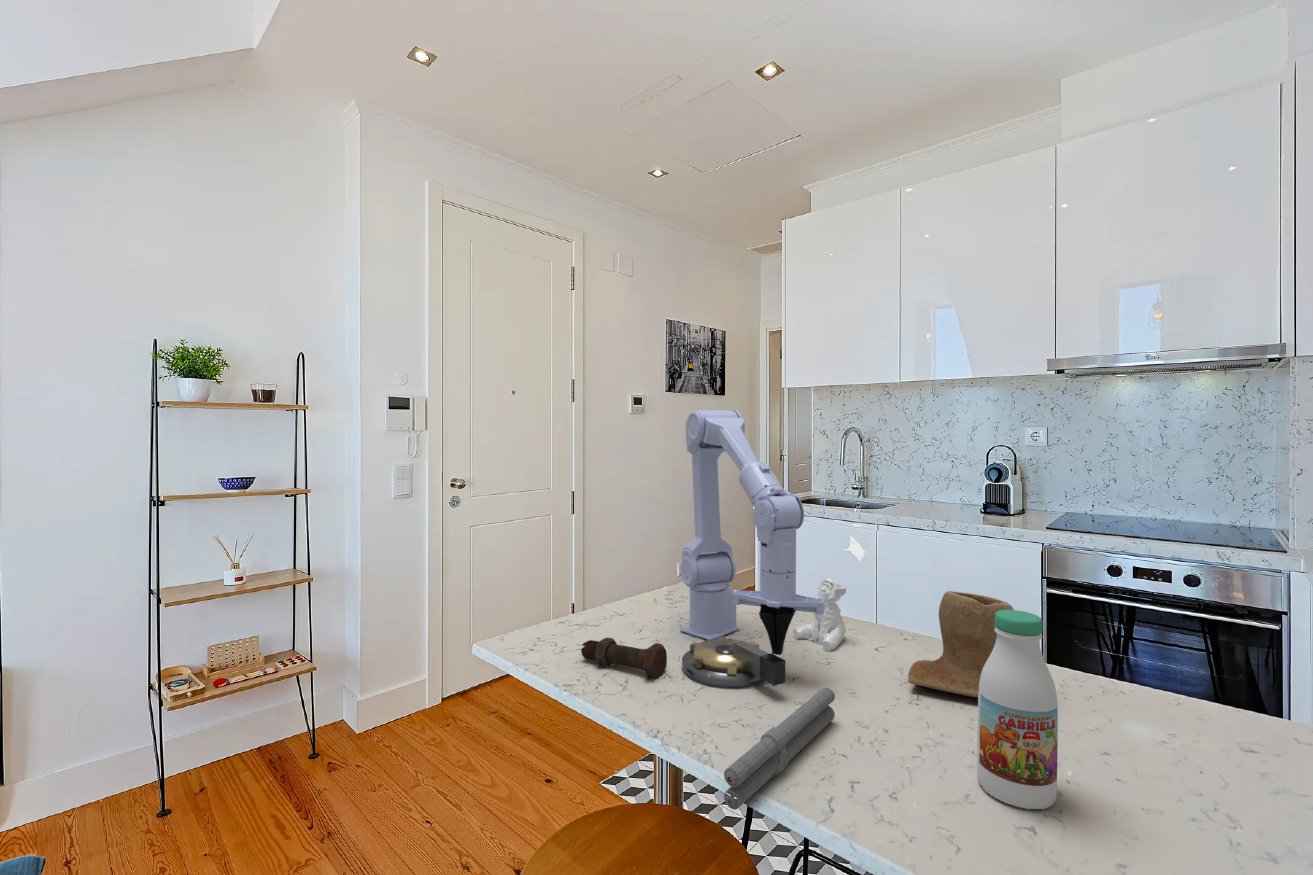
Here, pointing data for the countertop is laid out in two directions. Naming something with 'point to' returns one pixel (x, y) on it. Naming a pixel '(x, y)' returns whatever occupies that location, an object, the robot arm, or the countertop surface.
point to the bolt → (627, 656)
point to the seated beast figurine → (825, 618)
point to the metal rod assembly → (777, 748)
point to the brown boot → (961, 644)
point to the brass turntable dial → (738, 659)
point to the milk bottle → (1018, 716)
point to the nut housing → (718, 676)
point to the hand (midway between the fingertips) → (777, 652)
